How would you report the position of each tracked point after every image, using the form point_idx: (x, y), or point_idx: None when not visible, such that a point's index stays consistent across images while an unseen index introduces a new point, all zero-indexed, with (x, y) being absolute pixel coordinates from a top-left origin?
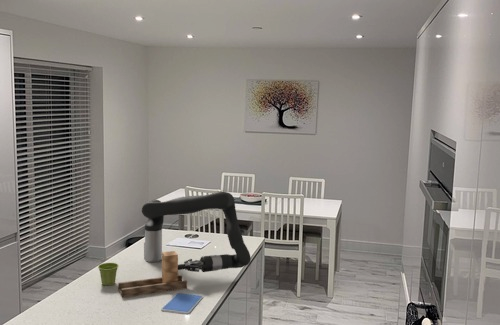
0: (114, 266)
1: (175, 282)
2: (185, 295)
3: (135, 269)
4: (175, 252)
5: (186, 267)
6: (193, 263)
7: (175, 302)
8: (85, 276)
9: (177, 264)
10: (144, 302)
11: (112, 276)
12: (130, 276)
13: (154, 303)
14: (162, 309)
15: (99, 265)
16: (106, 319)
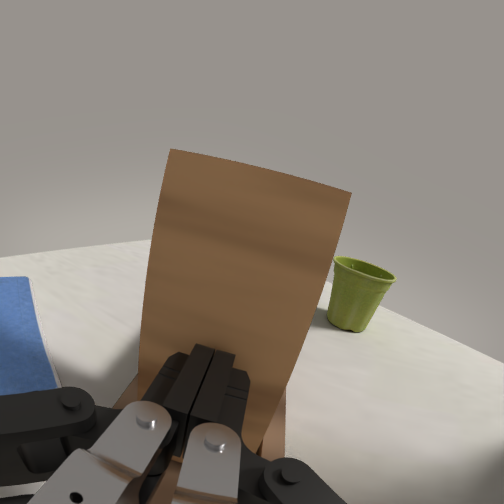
0: (385, 289)
1: (122, 394)
2: (2, 377)
3: (470, 396)
4: (279, 172)
5: (109, 419)
6: (39, 493)
7: (8, 313)
8: (400, 315)
9: (147, 278)
10: (119, 298)
11: (336, 293)
12: (403, 372)
13: (83, 303)
14: (24, 276)
15: (371, 264)
16: (117, 244)
